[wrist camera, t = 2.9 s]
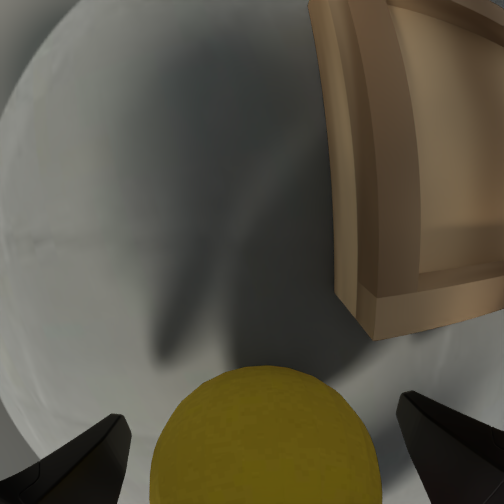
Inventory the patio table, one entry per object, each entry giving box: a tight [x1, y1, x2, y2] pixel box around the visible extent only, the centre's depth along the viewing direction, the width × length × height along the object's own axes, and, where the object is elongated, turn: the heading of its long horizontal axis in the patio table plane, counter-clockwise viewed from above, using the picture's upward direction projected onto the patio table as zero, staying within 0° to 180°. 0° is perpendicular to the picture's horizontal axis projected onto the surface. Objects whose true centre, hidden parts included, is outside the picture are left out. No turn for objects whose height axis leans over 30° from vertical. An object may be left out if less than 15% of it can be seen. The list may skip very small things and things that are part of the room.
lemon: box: [149, 365, 382, 504], centre depth 6 cm, size 6×6×8 cm
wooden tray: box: [308, 0, 504, 341], centre depth 6 cm, size 11×10×3 cm
